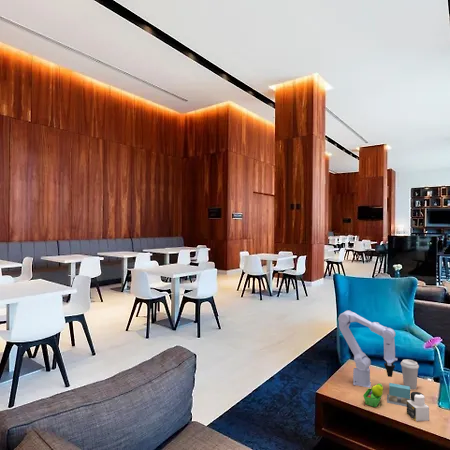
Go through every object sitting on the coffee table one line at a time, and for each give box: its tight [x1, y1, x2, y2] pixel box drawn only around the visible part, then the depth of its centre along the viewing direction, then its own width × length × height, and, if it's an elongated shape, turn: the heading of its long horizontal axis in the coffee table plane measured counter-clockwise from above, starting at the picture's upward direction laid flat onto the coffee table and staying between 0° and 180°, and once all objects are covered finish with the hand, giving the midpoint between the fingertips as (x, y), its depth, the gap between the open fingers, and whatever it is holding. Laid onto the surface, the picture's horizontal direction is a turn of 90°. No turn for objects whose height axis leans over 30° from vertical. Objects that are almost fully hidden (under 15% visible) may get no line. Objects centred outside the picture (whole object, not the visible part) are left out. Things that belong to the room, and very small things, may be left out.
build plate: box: [386, 393, 411, 408], centre depth 182 cm, size 12×10×1 cm
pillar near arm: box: [388, 394, 397, 402], centre depth 183 cm, size 4×4×3 cm
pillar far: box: [401, 397, 411, 404], centre depth 180 cm, size 4×4×3 cm
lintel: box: [388, 382, 411, 399], centre depth 182 cm, size 10×4×5 cm, turn 63°
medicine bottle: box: [406, 391, 430, 422], centre depth 167 cm, size 7×7×12 cm
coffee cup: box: [400, 359, 420, 390], centre depth 198 cm, size 10×10×15 cm
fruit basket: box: [363, 383, 384, 408], centre depth 180 cm, size 11×9×11 cm
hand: (389, 373), depth 193 cm, fingers open, 7 cm apart
